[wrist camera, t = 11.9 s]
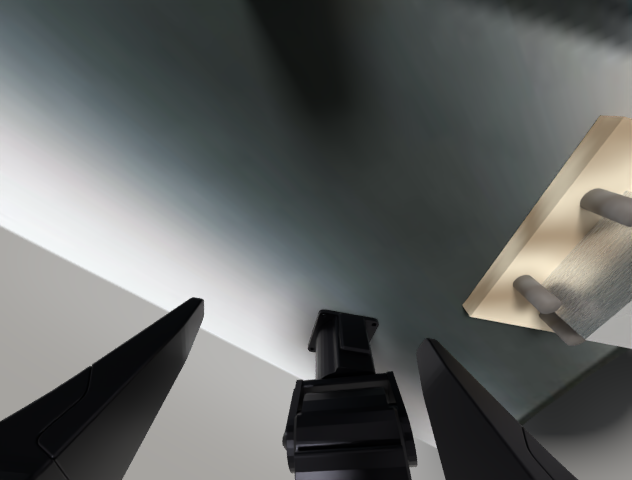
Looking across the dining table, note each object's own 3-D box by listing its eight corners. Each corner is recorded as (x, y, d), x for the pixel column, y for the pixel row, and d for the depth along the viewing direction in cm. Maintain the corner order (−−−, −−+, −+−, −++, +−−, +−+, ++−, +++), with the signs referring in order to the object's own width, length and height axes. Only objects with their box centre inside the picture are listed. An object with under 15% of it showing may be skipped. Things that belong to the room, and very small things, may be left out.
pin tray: (579, 327, 27) (624, 366, 23) (462, 305, 25) (488, 343, 21) (763, 163, 18) (888, 181, 14) (600, 115, 16) (687, 120, 13)
